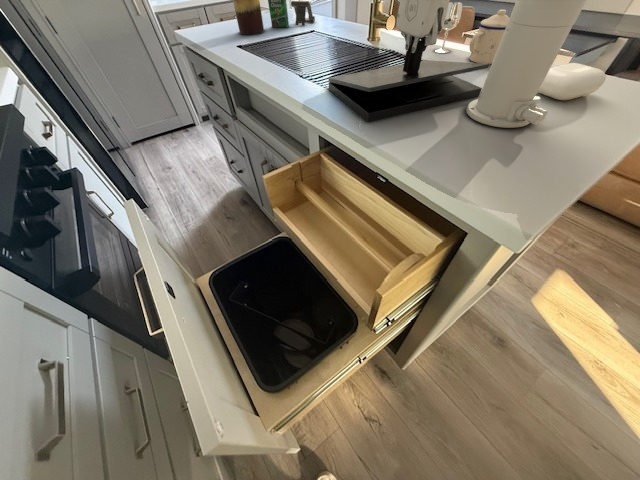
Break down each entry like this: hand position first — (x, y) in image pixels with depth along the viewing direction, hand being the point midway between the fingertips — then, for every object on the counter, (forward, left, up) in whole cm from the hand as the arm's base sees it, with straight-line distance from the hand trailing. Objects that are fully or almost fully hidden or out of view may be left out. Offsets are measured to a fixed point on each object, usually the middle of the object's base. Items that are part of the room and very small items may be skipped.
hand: (410, 71), depth 61 cm
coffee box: (+96, +4, -6) cm, 96 cm away
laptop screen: (+3, 0, -2) cm, 3 cm away
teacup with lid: (+13, -35, -6) cm, 38 cm away
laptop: (+3, 0, -5) cm, 6 cm away
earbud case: (-15, -32, -6) cm, 36 cm away
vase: (+93, +18, -6) cm, 95 cm away
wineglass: (+27, -32, -6) cm, 42 cm away
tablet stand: (+97, -8, -6) cm, 97 cm away
